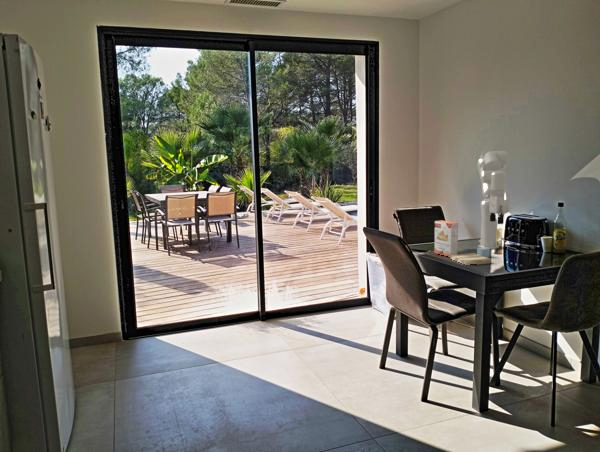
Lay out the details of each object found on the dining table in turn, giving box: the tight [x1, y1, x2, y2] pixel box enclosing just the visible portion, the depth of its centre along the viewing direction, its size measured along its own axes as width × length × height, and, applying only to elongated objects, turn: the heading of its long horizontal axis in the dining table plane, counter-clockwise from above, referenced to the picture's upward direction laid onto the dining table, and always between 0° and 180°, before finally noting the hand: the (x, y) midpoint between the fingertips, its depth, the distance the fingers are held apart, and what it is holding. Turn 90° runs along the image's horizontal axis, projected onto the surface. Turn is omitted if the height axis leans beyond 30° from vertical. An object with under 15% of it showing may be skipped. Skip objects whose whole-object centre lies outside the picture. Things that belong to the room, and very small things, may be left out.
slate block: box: [476, 247, 491, 258], centre depth 288 cm, size 5×5×5 cm
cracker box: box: [433, 219, 459, 258], centre depth 292 cm, size 14×6×21 cm, turn 27°
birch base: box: [449, 252, 492, 266], centre depth 277 cm, size 16×16×2 cm
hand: (496, 222), depth 281 cm, fingers open, 9 cm apart
